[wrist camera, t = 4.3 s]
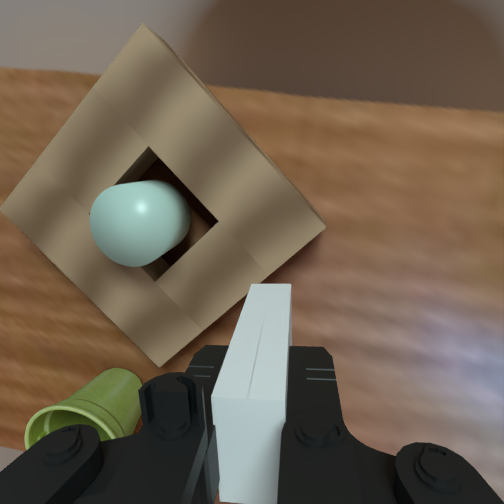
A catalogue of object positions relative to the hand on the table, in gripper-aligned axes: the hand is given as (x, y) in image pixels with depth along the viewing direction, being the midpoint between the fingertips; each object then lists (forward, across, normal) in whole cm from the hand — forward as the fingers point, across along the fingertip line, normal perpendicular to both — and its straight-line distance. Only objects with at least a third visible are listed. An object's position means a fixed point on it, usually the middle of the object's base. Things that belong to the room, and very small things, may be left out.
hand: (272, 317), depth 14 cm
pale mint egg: (+16, -11, +2) cm, 19 cm away
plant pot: (+19, -19, -18) cm, 33 cm away
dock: (+19, -11, +2) cm, 22 cm away
